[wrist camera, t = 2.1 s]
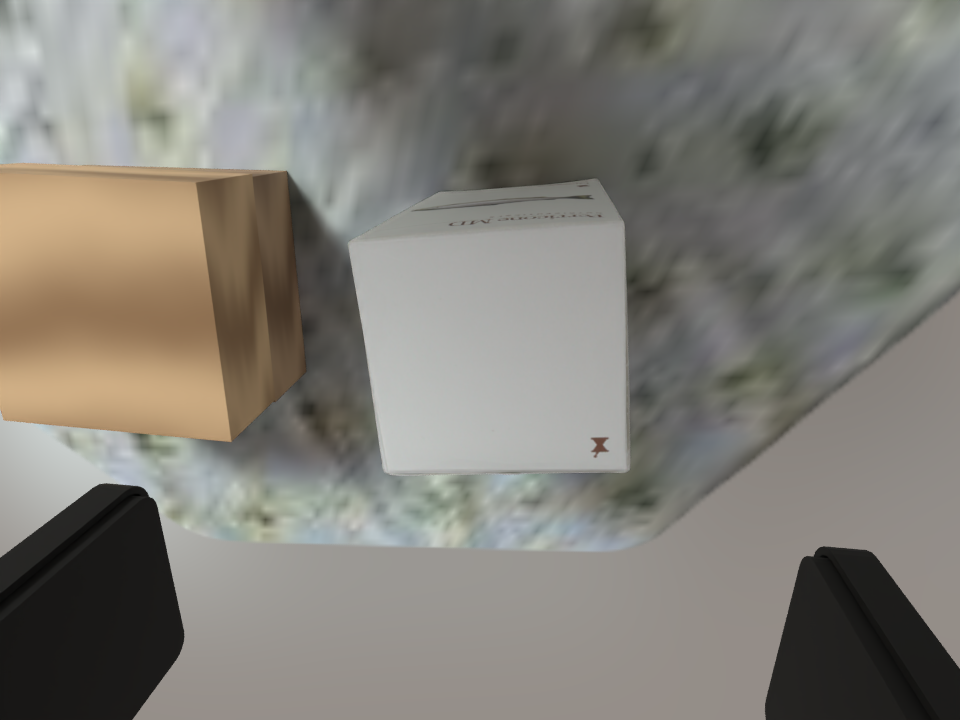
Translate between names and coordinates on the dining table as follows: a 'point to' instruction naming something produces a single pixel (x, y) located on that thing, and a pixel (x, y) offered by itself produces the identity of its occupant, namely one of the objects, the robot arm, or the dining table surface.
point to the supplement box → (498, 332)
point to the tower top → (132, 300)
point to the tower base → (274, 272)
